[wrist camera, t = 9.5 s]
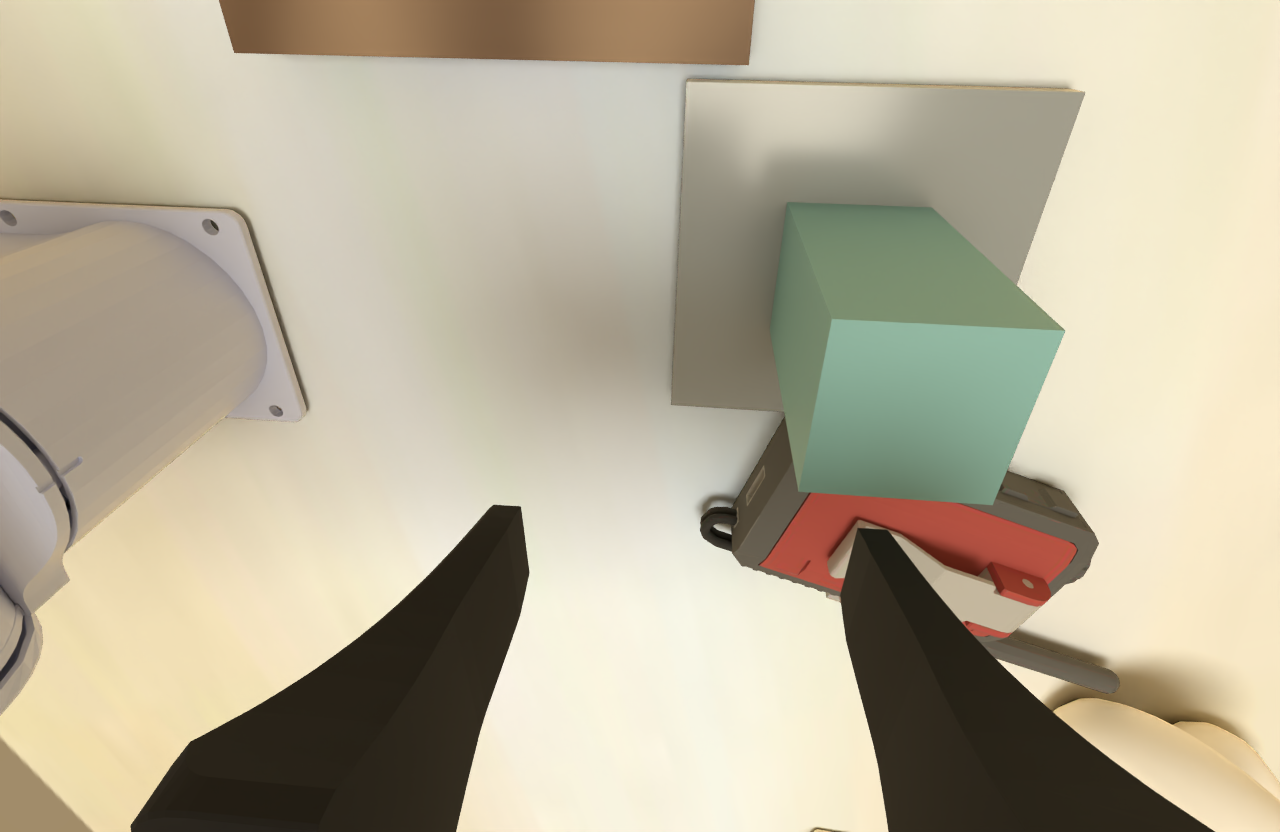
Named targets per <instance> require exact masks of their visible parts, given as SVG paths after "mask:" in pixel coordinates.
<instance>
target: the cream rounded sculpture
mask: <svg viewBox="0 0 1280 832" xmlns="http://www.w3.org/2000/svg"><path fill="white" fill-rule="evenodd" d="M1053 713H1055V714H1056V715H1057V716H1058V717H1059V718H1061V719H1062V720H1063V721H1064V722H1065V723H1067V724H1068V725H1069V726H1070V727H1071V728H1073V729H1074V730H1075V731H1076V732H1077V733H1079V734H1080V735H1081V736H1082V737H1083V738H1085V739H1086V740H1087V741H1088V742H1090V743H1091V744H1092V745H1093V746H1095V747H1096V748H1097V749H1099V750H1100V751H1101V752H1102V753H1104V754H1105V755H1106V756H1108V757H1109V758H1110V759H1112V760H1113V761H1114V762H1116V763H1117V764H1118V765H1120V766H1121V767H1122V768H1124V769H1125V770H1126V771H1128V772H1129V773H1130V774H1132V775H1133V776H1135V777H1136V778H1137V779H1139V780H1140V781H1141V782H1143V783H1144V784H1145V785H1147V786H1148V787H1150V788H1151V789H1152V790H1154V791H1155V792H1157V793H1158V794H1160V795H1161V796H1163V797H1164V798H1166V799H1167V800H1169V801H1170V802H1172V803H1173V804H1175V805H1176V806H1178V807H1179V808H1181V809H1182V810H1184V811H1185V812H1187V813H1188V814H1190V815H1191V816H1193V817H1194V818H1196V819H1197V820H1199V821H1200V822H1201V823H1203V824H1204V825H1206V826H1207V827H1209V828H1210V829H1212V830H1213V831H1215V832H1280V783H1279V781H1278V780H1277V778H1276V777H1275V776H1274V774H1273V773H1272V771H1271V770H1270V769H1269V767H1268V766H1267V765H1266V764H1265V762H1264V761H1263V760H1262V758H1261V757H1260V756H1259V754H1258V753H1257V752H1256V751H1255V750H1254V749H1253V748H1252V747H1250V746H1249V745H1248V744H1247V743H1246V742H1245V741H1244V740H1242V739H1240V738H1239V737H1237V736H1236V735H1234V734H1232V733H1230V732H1228V731H1226V730H1224V729H1222V728H1220V727H1218V726H1216V725H1213V724H1210V723H1207V722H1185V721H1180V722H1178V723H1175V724H1173V725H1172V724H1170V723H1168V722H1166V721H1164V720H1162V719H1160V718H1158V717H1156V716H1154V715H1151V714H1148V713H1146V712H1143V711H1141V710H1138V709H1136V708H1133V707H1130V706H1127V705H1124V704H1120V703H1117V702H1112V701H1108V700H1103V699H1099V698H1080V699H1078V700H1075V701H1072V702H1070V703H1067V704H1065V705H1063V706H1061V707H1059V708H1056V709H1055V710H1054V711H1053Z"/></svg>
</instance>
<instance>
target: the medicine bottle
mask: <svg viewBox="0 0 1280 832" xmlns="http://www.w3.org/2000/svg"><path fill="white" fill-rule="evenodd" d="M814 832H832V831H826V830H820V829H816V830H815V831H814Z"/></svg>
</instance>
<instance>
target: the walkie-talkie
mask: <svg viewBox="0 0 1280 832" xmlns="http://www.w3.org/2000/svg"><path fill="white" fill-rule="evenodd" d="M717 523H725V524H730V525H731V531H732V535H730V534H727V533H724V532H721V531H719V530H717V529H716V528H714V527H713V525H714V524H717ZM700 524H701V528H700V531H701V534H702V536H703V538H704V539H705V540H707V541H708V542H710V543H711V544H713V545H714V546H716V547H719V548H722V549H726V550H729V551H732V554H733V555H734V556H735V558H736V559H737V560H738V562H739V563H740V564H741V566H746V567H750V568H753V570H756V571H758V570H759V571H762V572H765V573H766V574H768V575H774V576H777V577H779V578H780V579H787V580H790V581H792V582H793V583H799V584H802V585H805V587H812V588H815V589H817V590H818V591H821V592H822V591H824V592H826V597H827V598H829V599H832V600H835V601H838V602H840V603H841V597H840V593H841V590H842V586H843V582H844V578H845V574H846V570H847V567H848V563H849V559H850V555H851V551H852V547H853V543H854V540H855V536H856V532H857V528H869V529H884V530H888V531H889V532H890V533H891V534H892V536H893V537H894V538H895V540H896V541H897V542H898V544H899V545H900V546H901V548H902V549H903V550H904V552H905V553H906V554H907V555H908V557H909V558H910V559H911V561H912V562H913V563H914V565H915V566H916V567H917V568H918V570H919V571H920V572H921V574H922V575H923V576H924V577H925V579H926V580H927V581H928V582H929V584H930V585H931V586H932V587H933V589H934V590H935V591H936V592H937V594H938V595H939V596H940V597H941V598H942V600H943V601H944V602H945V603H946V604H947V605H948V607H949V608H950V609H951V610H952V611H953V613H954V614H955V615H956V616H957V617H958V619H959V620H960V621H961V622H962V623H963V624H964V625H965V626H966V628H967V629H968V630H969V631H970V632H971V633H972V634H973V635H974V636H975V637H976V639H977V640H978V641H979V642H980V643H981V644H982V645H983V646H984V647H985V648H986V649H987V650H988V652H989V653H990V654H991V655H992V656H993V657H994V658H996V659H1000V660H1003V661H1006V662H1009V663H1012V664H1015V665H1018V666H1021V667H1025V668H1028V669H1031V670H1034V671H1037V672H1040V673H1043V674H1047V675H1050V676H1053V677H1056V678H1059V679H1062V680H1065V681H1068V682H1072V683H1075V684H1078V685H1081V686H1084V687H1087V688H1090V689H1093V690H1097V691H1100V692H1103V693H1114V692H1115V691H1116V690H1117V689H1118V688H1119V684H1120V682H1119V678H1118V677H1117V675H1116V674H1115V673H1114V672H1112V671H1111V670H1109V669H1106V668H1103V667H1100V666H1097V665H1094V664H1090V663H1087V662H1084V661H1081V660H1078V659H1075V658H1072V657H1069V656H1066V655H1063V654H1060V653H1057V652H1053V651H1050V650H1047V649H1044V648H1041V647H1038V646H1035V645H1032V644H1029V643H1026V642H1023V641H1020V640H1016V639H1013V638H1010V637H1008V636H1009V635H1010V634H1012V633H1013V632H1014V631H1015V630H1016V629H1017V628H1018V627H1019V626H1020V625H1021V624H1023V623H1024V622H1025V621H1026V620H1027V619H1028V618H1029V617H1030V616H1031V615H1032V614H1034V613H1035V612H1036V611H1037V610H1038V609H1039V608H1040V607H1041V606H1042V605H1043V604H1045V603H1046V602H1047V601H1048V600H1049V599H1050V598H1051V597H1052V596H1053V595H1054V594H1055V593H1056V592H1058V591H1059V590H1060V589H1061V588H1062V587H1063V586H1064V585H1065V584H1068V583H1073V582H1075V581H1076V580H1077V579H1080V578H1081V577H1083V576H1084V574H1085V573H1086V571H1087V569H1088V568H1089V567H1090V563H1091V558H1092V556H1093V554H1094V552H1095V550H1096V548H1097V546H1098V544H1099V542H1098V540H1097V538H1096V536H1095V533H1094V532H1093V531H1092V529H1091V528H1090V527H1089V525H1088V524H1087V522H1086V521H1085V520H1084V518H1083V517H1082V515H1081V514H1080V513H1079V511H1078V510H1077V508H1076V507H1075V506H1074V504H1073V503H1072V501H1071V500H1070V499H1069V497H1068V496H1067V495H1066V493H1065V492H1064V491H1063V490H1060V489H1057V488H1054V487H1051V486H1049V485H1046V484H1043V483H1040V482H1037V481H1035V480H1032V479H1029V478H1026V477H1023V476H1021V475H1018V474H1015V473H1012V472H1009V471H1007V472H1006V474H1005V477H1004V479H1003V481H1002V484H1001V486H1000V489H999V491H998V493H997V496H996V498H995V501H994V503H993V505H983V504H968V503H954V502H939V501H925V500H911V499H896V498H882V497H868V496H853V495H839V494H824V493H810V492H798V486H797V481H796V475H795V469H794V464H793V458H792V453H791V447H790V441H789V436H788V430H787V425H786V419H785V417H784V419H783V420H782V422H781V424H780V426H779V427H778V429H777V431H776V432H775V434H774V436H773V438H772V439H771V441H770V443H769V445H768V446H767V448H766V450H765V451H764V453H763V455H762V457H761V458H760V460H759V462H758V463H757V465H756V467H755V469H754V470H753V472H752V474H751V475H750V477H749V479H748V481H747V482H746V484H745V486H744V488H743V489H742V491H741V493H740V494H739V496H738V498H737V500H736V501H735V503H734V505H733V506H732V508H728V507H714V508H711V509H709V510H708V511H707V512H706V513H705V514H704V515H703V516H702V517H701V522H700Z"/></svg>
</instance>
